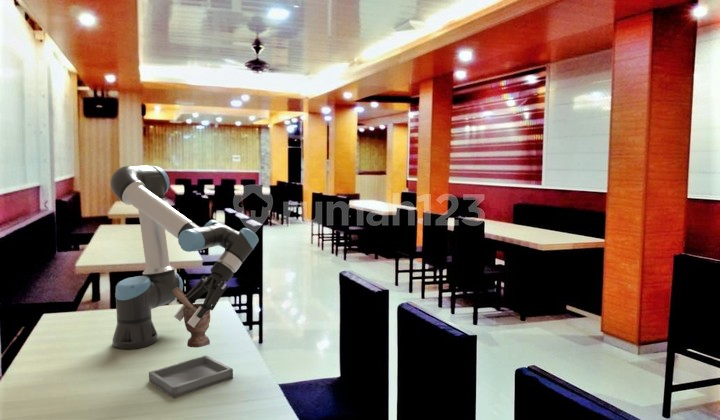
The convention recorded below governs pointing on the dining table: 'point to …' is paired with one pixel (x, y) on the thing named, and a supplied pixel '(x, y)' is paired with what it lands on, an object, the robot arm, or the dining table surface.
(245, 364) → the dining table surface
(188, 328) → the mortar and pestle
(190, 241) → the robot arm
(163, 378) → the tray
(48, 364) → the dining table surface
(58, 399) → the dining table surface
